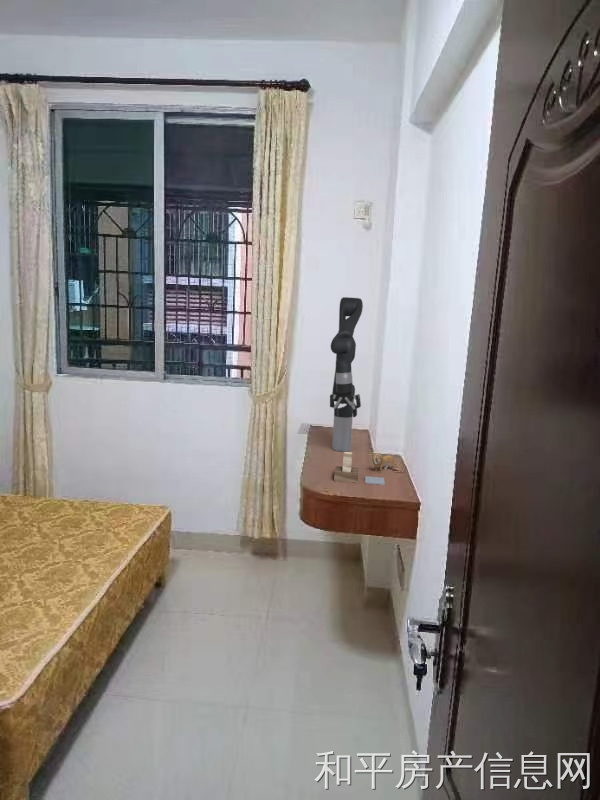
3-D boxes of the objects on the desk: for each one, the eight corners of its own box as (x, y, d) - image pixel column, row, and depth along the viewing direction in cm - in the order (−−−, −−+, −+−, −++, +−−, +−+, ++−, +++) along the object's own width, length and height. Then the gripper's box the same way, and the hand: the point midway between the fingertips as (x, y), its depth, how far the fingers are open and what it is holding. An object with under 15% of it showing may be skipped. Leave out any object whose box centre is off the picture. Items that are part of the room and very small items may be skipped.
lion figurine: (377, 475, 259) (379, 455, 257) (368, 472, 262) (369, 452, 261) (397, 469, 269) (399, 450, 267) (388, 466, 273) (389, 447, 271)
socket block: (335, 473, 258) (335, 465, 257) (358, 475, 257) (358, 467, 256) (333, 480, 248) (334, 472, 247) (357, 482, 247) (358, 474, 246)
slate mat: (365, 477, 255) (365, 476, 255) (383, 479, 254) (384, 477, 254) (365, 483, 247) (365, 482, 247) (384, 485, 246) (384, 483, 246)
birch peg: (342, 476, 254) (343, 451, 252) (350, 477, 254) (352, 452, 252) (341, 479, 251) (343, 454, 249) (350, 479, 251) (352, 454, 248)
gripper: (361, 380, 271) (363, 415, 274) (332, 380, 277) (334, 414, 280) (356, 383, 264) (357, 419, 267) (326, 383, 270) (328, 417, 273)
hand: (345, 416), depth 273 cm, fingers open, 8 cm apart
